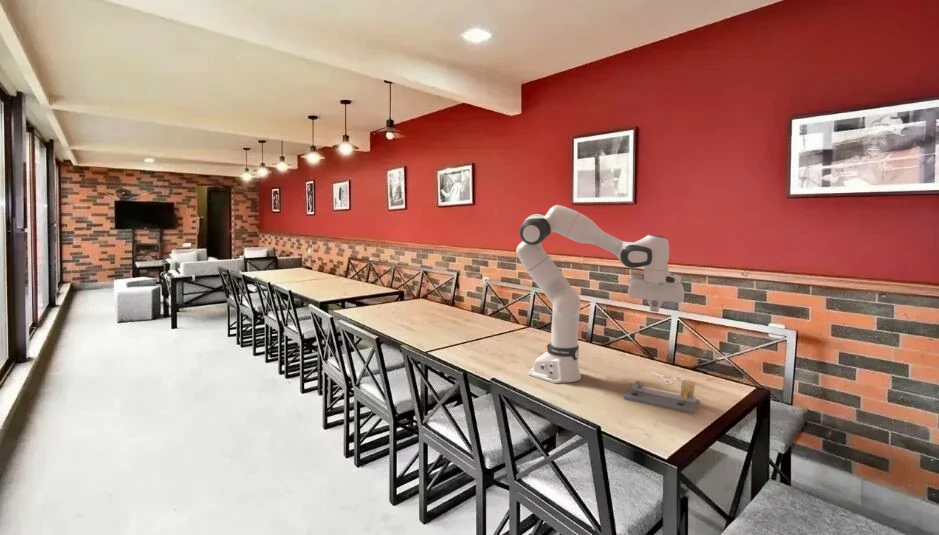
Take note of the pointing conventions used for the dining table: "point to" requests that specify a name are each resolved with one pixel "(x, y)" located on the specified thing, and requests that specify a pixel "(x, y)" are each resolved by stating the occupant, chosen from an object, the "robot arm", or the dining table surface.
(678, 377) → the scissors
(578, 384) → the dining table surface
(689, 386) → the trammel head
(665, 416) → the dining table surface
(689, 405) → the plate
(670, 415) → the dining table surface
